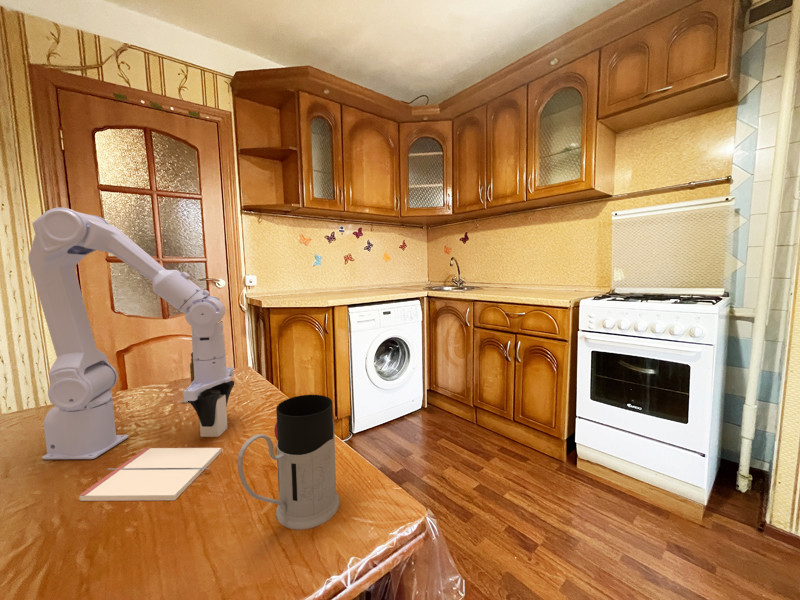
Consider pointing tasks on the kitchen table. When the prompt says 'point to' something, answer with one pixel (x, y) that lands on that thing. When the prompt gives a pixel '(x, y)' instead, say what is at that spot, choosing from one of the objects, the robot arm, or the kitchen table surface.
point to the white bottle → (217, 418)
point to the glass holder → (302, 462)
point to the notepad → (152, 475)
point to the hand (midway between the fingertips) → (213, 421)
